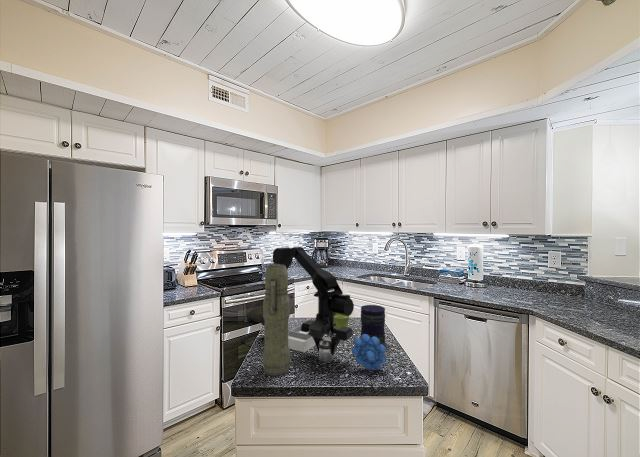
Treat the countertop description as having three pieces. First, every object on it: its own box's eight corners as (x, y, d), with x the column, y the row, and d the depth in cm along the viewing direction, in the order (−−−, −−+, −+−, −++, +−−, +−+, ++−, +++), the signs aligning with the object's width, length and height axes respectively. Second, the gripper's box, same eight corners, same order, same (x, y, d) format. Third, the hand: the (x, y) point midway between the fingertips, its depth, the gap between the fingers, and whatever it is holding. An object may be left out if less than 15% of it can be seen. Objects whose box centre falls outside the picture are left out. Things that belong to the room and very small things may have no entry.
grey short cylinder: (315, 360, 102) (315, 340, 102) (323, 354, 107) (323, 335, 107) (329, 364, 99) (329, 343, 99) (336, 357, 104) (336, 338, 104)
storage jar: (365, 338, 123) (365, 303, 123) (388, 342, 118) (388, 306, 118) (356, 346, 114) (356, 309, 114) (380, 351, 109) (380, 312, 109)
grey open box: (284, 347, 113) (284, 332, 113) (303, 336, 124) (303, 323, 124) (304, 352, 108) (304, 336, 108) (321, 341, 120) (321, 326, 120)
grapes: (352, 376, 91) (352, 338, 91) (351, 366, 98) (351, 331, 98) (389, 377, 90) (389, 339, 90) (385, 367, 97) (385, 331, 97)
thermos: (290, 360, 102) (291, 262, 102) (288, 378, 90) (288, 267, 90) (265, 361, 101) (266, 262, 102) (260, 378, 90) (260, 267, 90)
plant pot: (353, 332, 130) (353, 313, 130) (344, 339, 122) (344, 319, 122) (335, 328, 135) (335, 310, 135) (325, 335, 127) (325, 315, 127)
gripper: (292, 311, 101) (291, 356, 101) (339, 320, 91) (339, 369, 91) (309, 304, 110) (309, 345, 110) (353, 311, 101) (353, 356, 101)
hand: (326, 353), depth 103 cm, fingers closed on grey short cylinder, 5 cm apart
